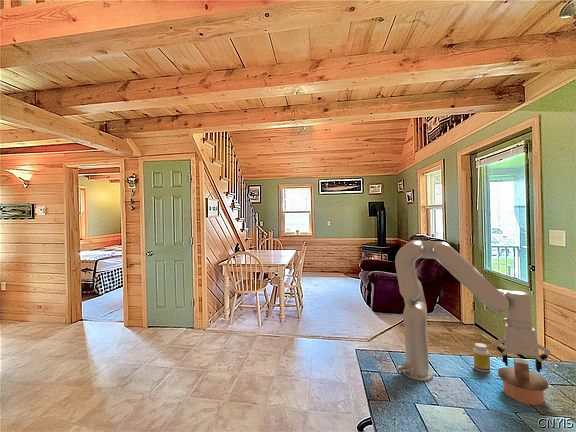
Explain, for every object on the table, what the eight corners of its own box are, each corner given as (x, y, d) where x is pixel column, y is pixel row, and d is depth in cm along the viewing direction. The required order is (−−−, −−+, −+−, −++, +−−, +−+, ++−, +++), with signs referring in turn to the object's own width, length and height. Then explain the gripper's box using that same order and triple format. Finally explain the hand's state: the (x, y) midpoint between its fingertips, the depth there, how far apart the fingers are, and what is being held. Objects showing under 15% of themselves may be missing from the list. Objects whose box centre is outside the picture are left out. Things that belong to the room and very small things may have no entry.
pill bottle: (493, 373, 125) (491, 348, 126) (477, 372, 127) (476, 347, 127) (486, 366, 131) (485, 342, 132) (471, 365, 133) (470, 341, 133)
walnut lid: (500, 383, 107) (499, 364, 107) (496, 366, 120) (495, 349, 120) (552, 395, 99) (551, 375, 99) (543, 375, 112) (542, 357, 112)
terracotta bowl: (527, 407, 102) (526, 390, 102) (496, 388, 114) (495, 373, 114) (552, 402, 104) (551, 385, 105) (519, 384, 116) (519, 369, 116)
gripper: (492, 322, 112) (495, 366, 111) (551, 330, 102) (554, 378, 102) (491, 317, 118) (493, 358, 117) (546, 324, 109) (549, 368, 108)
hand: (521, 367), depth 110 cm, fingers open, 9 cm apart
